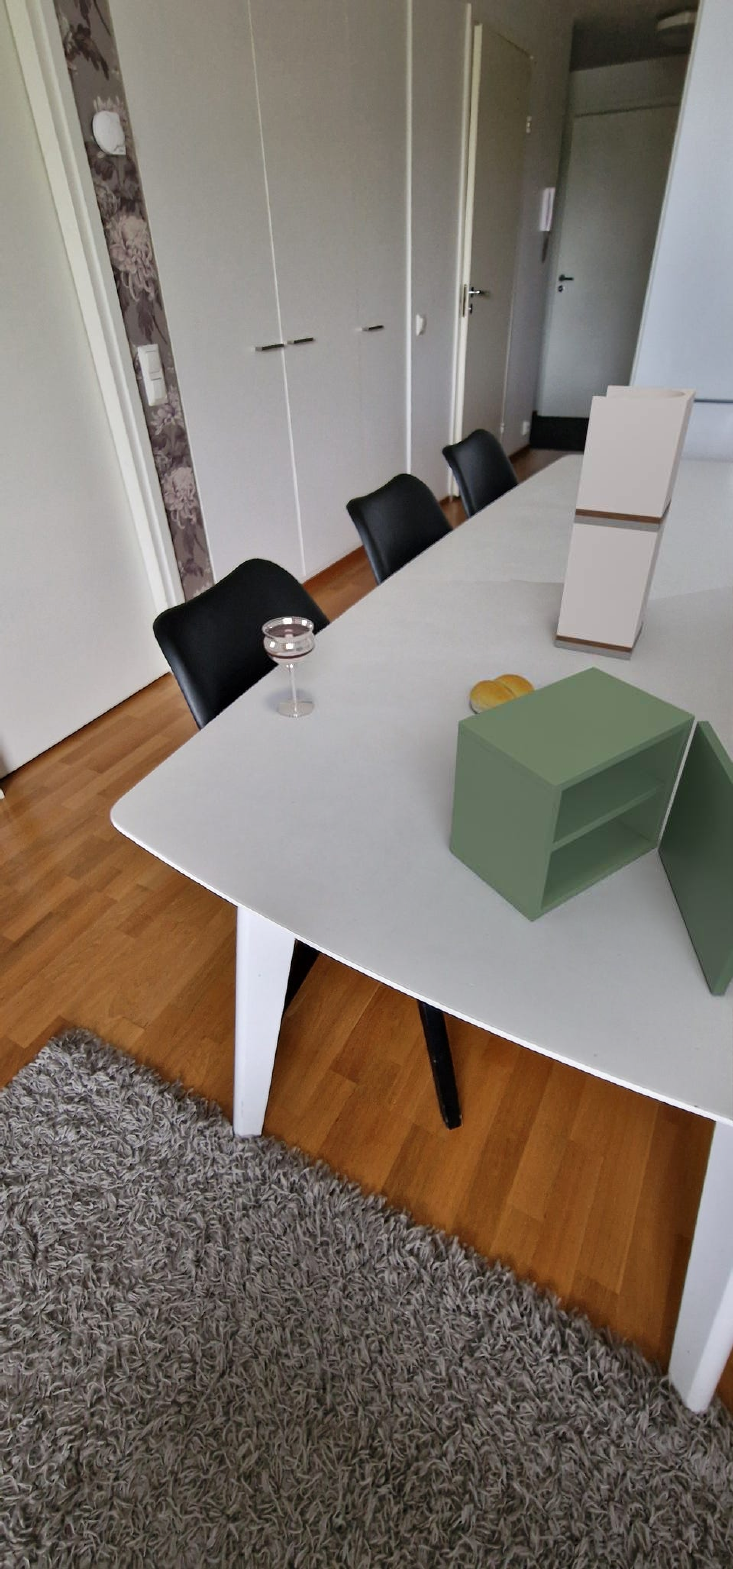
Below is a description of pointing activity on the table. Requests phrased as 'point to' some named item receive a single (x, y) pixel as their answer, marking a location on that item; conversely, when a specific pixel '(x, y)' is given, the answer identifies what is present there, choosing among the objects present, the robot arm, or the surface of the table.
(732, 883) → the cupboard door
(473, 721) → the cupboard
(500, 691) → the bread roll
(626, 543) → the tall white column
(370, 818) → the table surface
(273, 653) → the wineglass
